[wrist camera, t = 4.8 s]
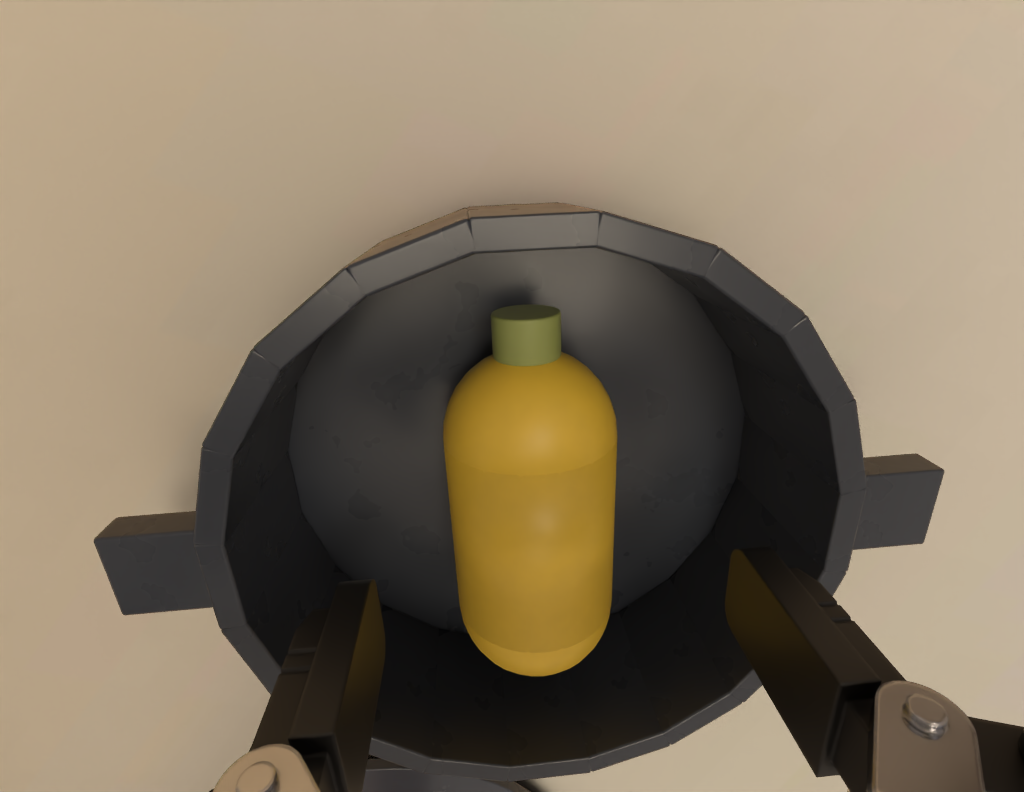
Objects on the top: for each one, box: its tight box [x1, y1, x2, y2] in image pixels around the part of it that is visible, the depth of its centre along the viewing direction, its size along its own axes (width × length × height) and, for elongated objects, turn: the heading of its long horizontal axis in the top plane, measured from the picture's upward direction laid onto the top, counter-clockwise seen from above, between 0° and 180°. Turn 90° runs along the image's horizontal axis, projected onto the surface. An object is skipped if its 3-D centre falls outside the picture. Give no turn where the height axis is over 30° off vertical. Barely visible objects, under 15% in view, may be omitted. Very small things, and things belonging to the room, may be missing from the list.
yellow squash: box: [443, 304, 617, 676], centre depth 16 cm, size 11×5×5 cm, turn 2°
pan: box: [94, 202, 944, 782], centre depth 16 cm, size 16×22×6 cm
